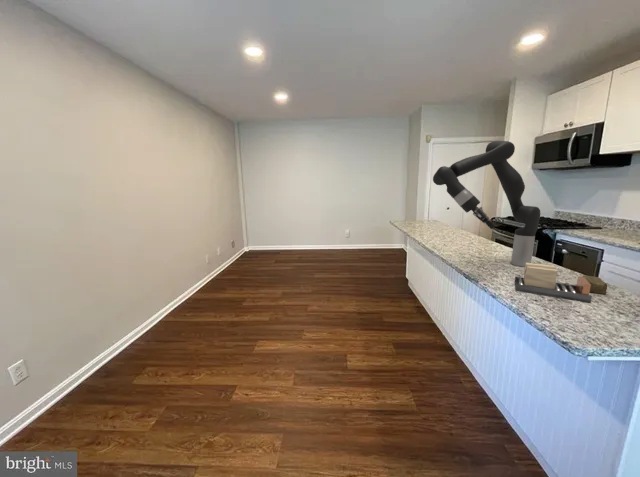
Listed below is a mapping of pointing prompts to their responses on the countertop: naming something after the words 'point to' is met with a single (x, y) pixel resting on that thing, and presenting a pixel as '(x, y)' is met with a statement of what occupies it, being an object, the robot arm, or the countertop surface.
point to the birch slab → (540, 275)
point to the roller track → (559, 290)
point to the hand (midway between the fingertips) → (493, 227)
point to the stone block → (596, 284)
